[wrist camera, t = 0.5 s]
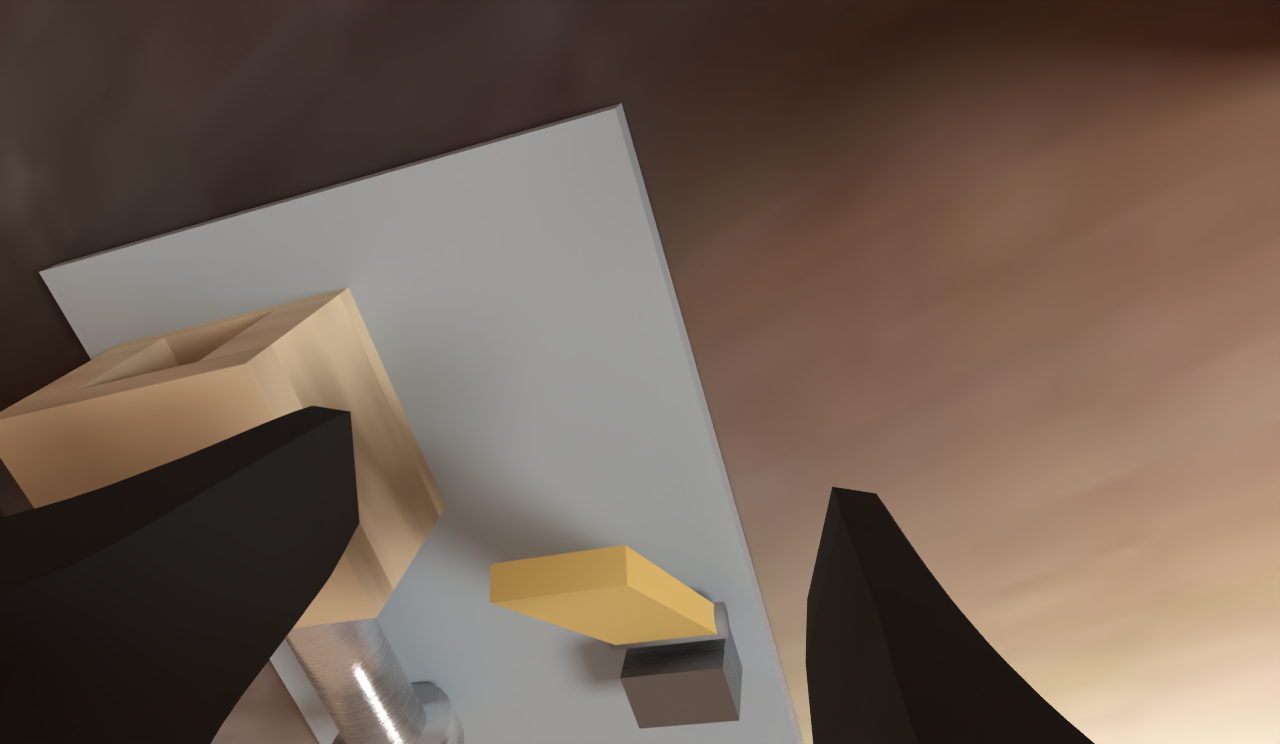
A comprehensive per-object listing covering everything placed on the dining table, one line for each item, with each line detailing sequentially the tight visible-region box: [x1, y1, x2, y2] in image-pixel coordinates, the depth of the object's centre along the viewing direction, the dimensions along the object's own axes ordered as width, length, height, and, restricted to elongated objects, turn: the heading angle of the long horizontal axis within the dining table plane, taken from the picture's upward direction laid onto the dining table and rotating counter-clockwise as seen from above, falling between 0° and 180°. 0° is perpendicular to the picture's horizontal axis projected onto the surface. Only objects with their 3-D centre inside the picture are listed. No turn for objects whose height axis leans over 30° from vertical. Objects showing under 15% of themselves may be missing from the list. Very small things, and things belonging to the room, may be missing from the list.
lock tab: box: [490, 545, 729, 651], centre depth 21 cm, size 8×3×1 cm
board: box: [39, 103, 802, 744], centre depth 25 cm, size 21×17×1 cm
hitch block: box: [0, 288, 446, 628], centre depth 22 cm, size 7×8×5 cm
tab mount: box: [620, 625, 743, 729], centre depth 25 cm, size 2×3×2 cm, turn 106°
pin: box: [285, 618, 465, 744], centre depth 24 cm, size 12×4×4 cm, turn 16°
